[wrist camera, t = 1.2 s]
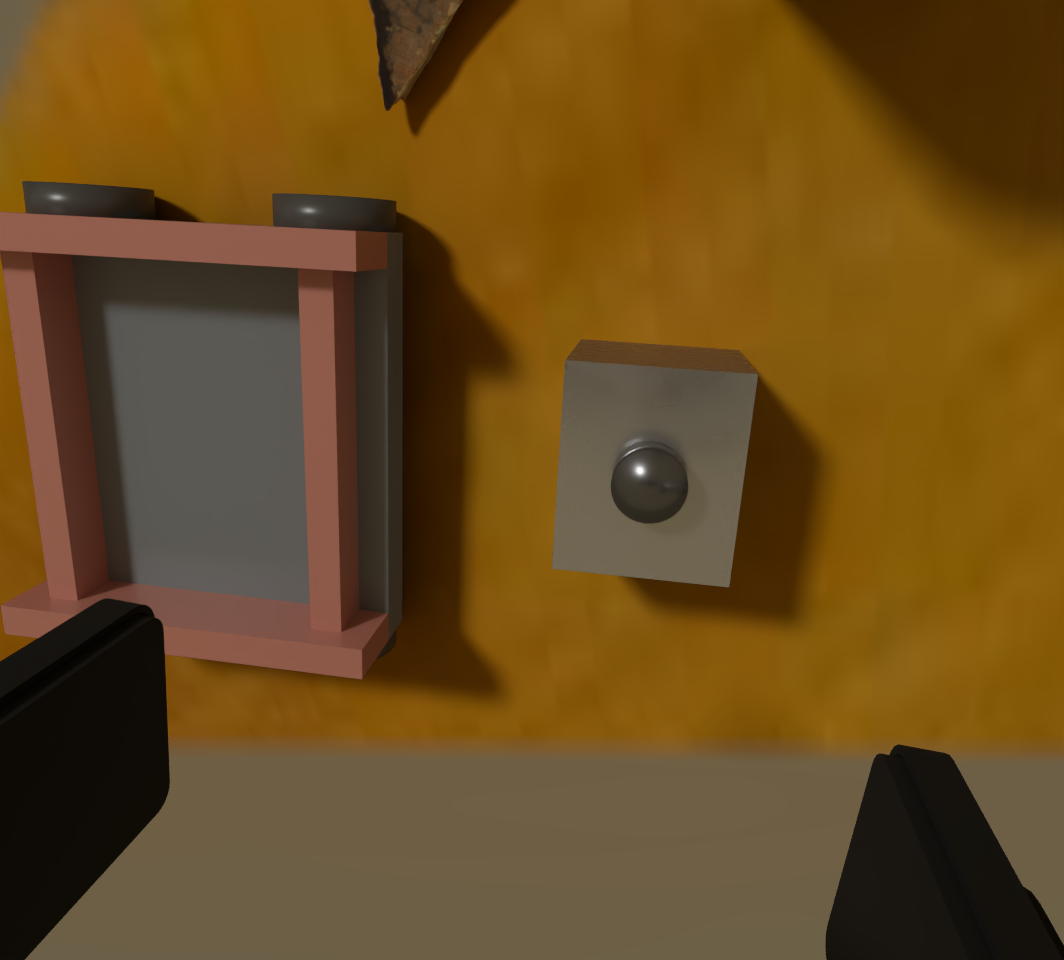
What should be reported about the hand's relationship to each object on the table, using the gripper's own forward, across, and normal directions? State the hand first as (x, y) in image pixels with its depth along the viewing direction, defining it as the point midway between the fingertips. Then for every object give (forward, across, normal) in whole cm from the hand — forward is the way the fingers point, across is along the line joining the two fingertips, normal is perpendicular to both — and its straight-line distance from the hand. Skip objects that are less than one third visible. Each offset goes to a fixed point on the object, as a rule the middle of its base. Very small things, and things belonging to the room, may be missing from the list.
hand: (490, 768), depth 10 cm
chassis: (+17, +12, +1) cm, 21 cm away
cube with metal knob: (+17, -2, -1) cm, 17 cm away
